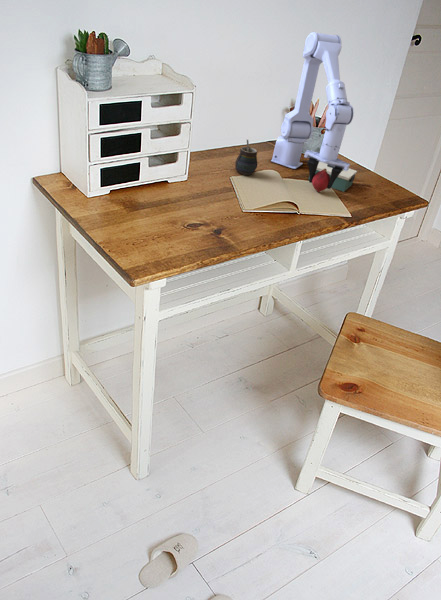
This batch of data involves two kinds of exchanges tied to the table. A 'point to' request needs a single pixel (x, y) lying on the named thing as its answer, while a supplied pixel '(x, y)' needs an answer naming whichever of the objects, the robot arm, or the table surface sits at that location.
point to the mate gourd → (246, 160)
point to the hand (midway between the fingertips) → (320, 184)
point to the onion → (321, 180)
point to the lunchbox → (343, 178)
